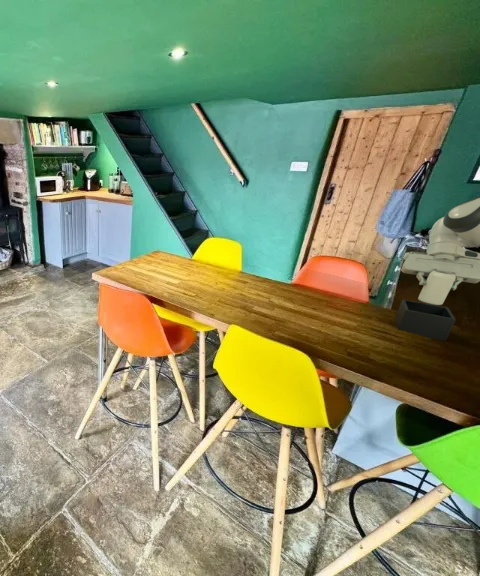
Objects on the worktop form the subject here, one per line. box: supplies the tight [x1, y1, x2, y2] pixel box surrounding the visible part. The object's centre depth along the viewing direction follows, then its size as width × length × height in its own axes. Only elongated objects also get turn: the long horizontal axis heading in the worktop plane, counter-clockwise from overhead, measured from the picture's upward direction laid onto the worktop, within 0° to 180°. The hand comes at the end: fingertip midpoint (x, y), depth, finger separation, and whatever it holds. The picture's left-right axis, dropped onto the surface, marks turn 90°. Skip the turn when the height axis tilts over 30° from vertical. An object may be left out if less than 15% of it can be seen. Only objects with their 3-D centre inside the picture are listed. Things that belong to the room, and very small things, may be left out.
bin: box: [394, 299, 457, 342], centre depth 114 cm, size 13×13×9 cm
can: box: [417, 269, 456, 306], centre depth 110 cm, size 6×6×12 cm
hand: (437, 286), depth 109 cm, fingers closed on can, 6 cm apart
